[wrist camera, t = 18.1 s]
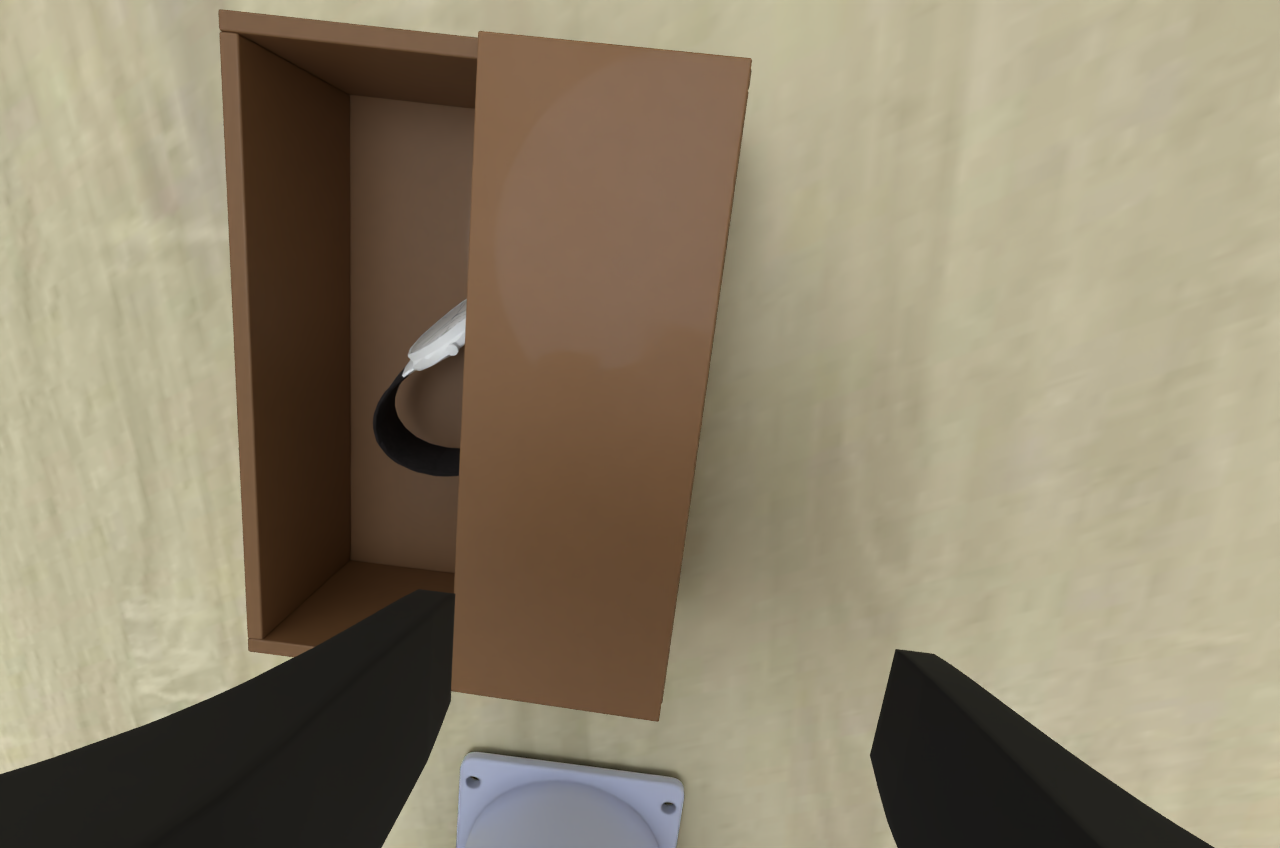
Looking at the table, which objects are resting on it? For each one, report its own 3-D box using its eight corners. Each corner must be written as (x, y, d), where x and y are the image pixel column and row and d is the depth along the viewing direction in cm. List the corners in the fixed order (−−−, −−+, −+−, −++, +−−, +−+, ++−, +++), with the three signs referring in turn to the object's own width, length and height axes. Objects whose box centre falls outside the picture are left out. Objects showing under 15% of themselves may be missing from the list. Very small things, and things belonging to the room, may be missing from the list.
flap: (750, 63, 12) (752, 57, 12) (659, 714, 15) (658, 722, 15) (482, 35, 12) (477, 30, 12) (453, 683, 16) (448, 691, 15)
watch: (573, 222, 18) (549, 210, 14) (665, 360, 18) (664, 382, 15) (368, 372, 19) (299, 395, 15) (462, 494, 20) (417, 543, 16)
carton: (728, 124, 17) (752, 67, 12) (663, 603, 21) (662, 705, 16) (343, 81, 17) (216, 7, 12) (345, 563, 21) (247, 652, 16)
